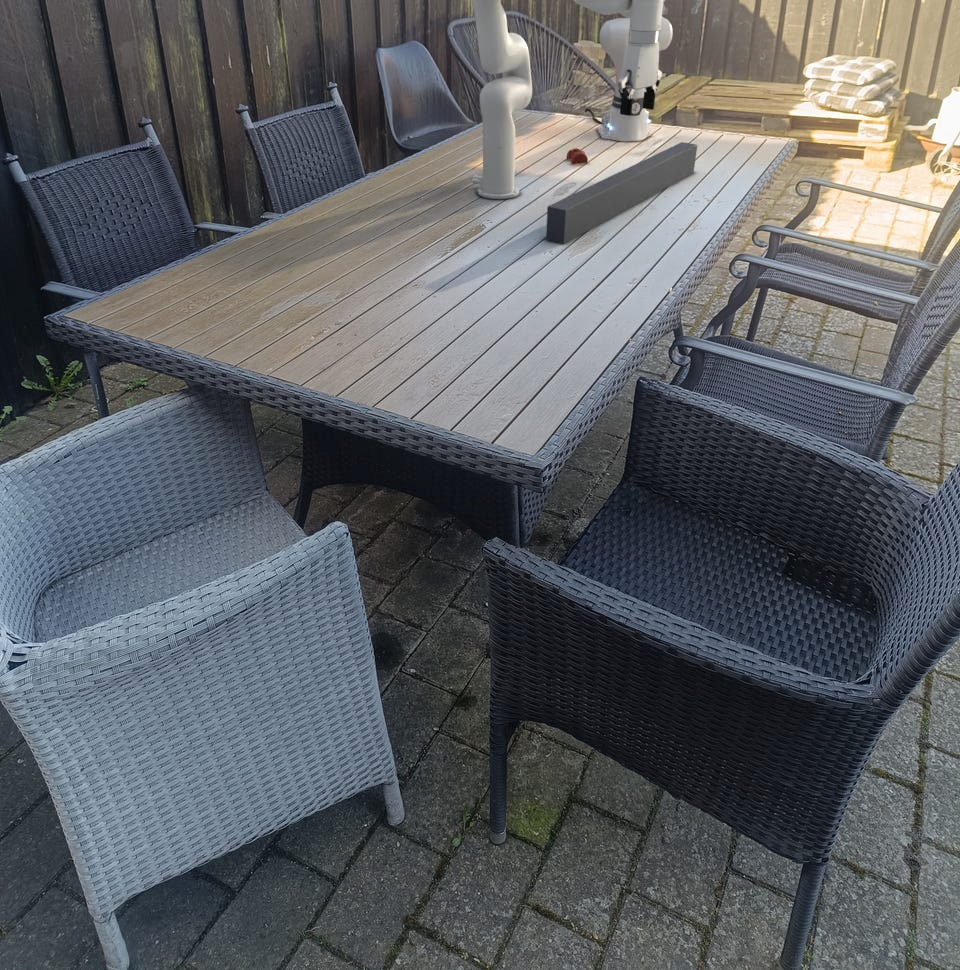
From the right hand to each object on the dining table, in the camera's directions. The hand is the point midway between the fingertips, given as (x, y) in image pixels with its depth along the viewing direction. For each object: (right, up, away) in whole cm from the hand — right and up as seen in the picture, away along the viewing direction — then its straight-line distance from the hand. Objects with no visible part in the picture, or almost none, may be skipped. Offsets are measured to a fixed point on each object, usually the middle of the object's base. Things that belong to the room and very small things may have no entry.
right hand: (679, 14), depth 259 cm
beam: (-18, -62, -11) cm, 65 cm away
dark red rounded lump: (-29, -36, +25) cm, 52 cm away
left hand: (-21, -48, -41) cm, 67 cm away
